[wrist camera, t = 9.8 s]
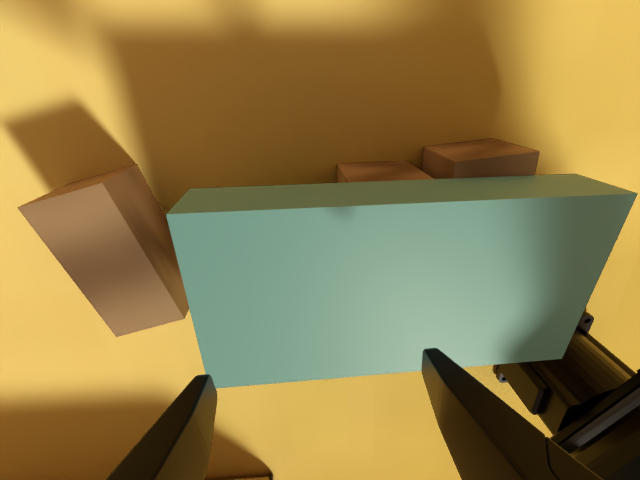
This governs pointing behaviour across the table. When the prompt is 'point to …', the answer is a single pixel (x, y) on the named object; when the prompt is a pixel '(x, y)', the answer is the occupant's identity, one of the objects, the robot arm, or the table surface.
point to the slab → (390, 272)
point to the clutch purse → (257, 478)
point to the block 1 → (114, 248)
